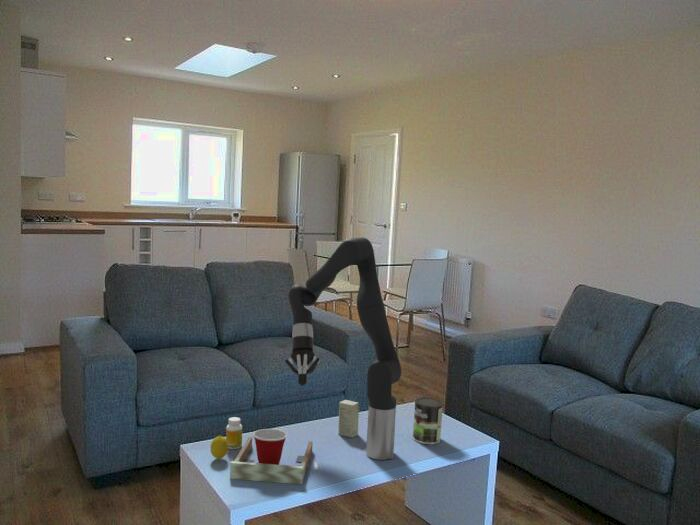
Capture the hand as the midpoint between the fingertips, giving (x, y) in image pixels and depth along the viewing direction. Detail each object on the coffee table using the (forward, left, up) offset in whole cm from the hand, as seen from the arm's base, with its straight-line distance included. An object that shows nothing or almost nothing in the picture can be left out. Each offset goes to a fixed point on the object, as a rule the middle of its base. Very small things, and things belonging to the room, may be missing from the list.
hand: (302, 385), depth 211 cm
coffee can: (-45, -12, -21) cm, 51 cm away
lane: (+6, +18, -21) cm, 28 cm away
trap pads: (+6, +17, -21) cm, 27 cm away
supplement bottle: (+22, +7, -21) cm, 31 cm away
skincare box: (-16, -11, -21) cm, 28 cm away
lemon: (+24, +18, -21) cm, 37 cm away
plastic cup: (+7, +23, -21) cm, 32 cm away
